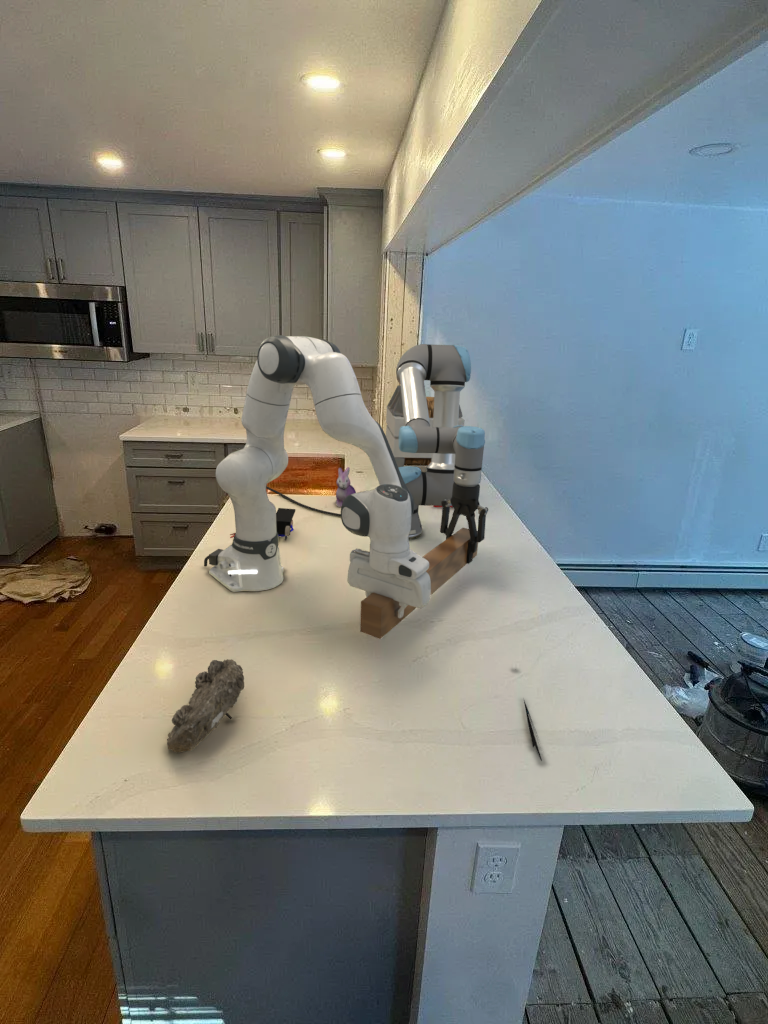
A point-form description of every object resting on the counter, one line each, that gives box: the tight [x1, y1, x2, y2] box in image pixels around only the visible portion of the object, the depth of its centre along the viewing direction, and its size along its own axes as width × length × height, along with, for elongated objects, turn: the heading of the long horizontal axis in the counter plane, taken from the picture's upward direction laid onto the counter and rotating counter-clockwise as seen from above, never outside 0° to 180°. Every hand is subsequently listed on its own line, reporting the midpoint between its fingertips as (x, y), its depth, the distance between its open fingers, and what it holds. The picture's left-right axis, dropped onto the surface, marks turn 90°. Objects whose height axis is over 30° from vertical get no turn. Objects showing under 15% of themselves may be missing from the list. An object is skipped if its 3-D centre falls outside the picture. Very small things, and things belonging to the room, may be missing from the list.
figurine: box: [335, 466, 357, 508], centre depth 225 cm, size 9×10×15 cm
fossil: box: [166, 658, 245, 754], centre depth 106 cm, size 22×10×15 cm
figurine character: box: [276, 507, 296, 541], centre depth 193 cm, size 7×8×15 cm
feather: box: [514, 668, 543, 762], centre depth 113 cm, size 2×28×2 cm
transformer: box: [385, 384, 465, 467], centre depth 268 cm, size 34×33×41 cm
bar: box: [359, 527, 479, 640], centre depth 147 cm, size 55×5×8 cm, turn 149°
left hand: (386, 612), depth 131 cm, fingers closed on bar, 5 cm apart
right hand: (459, 559), depth 165 cm, fingers closed on bar, 5 cm apart
